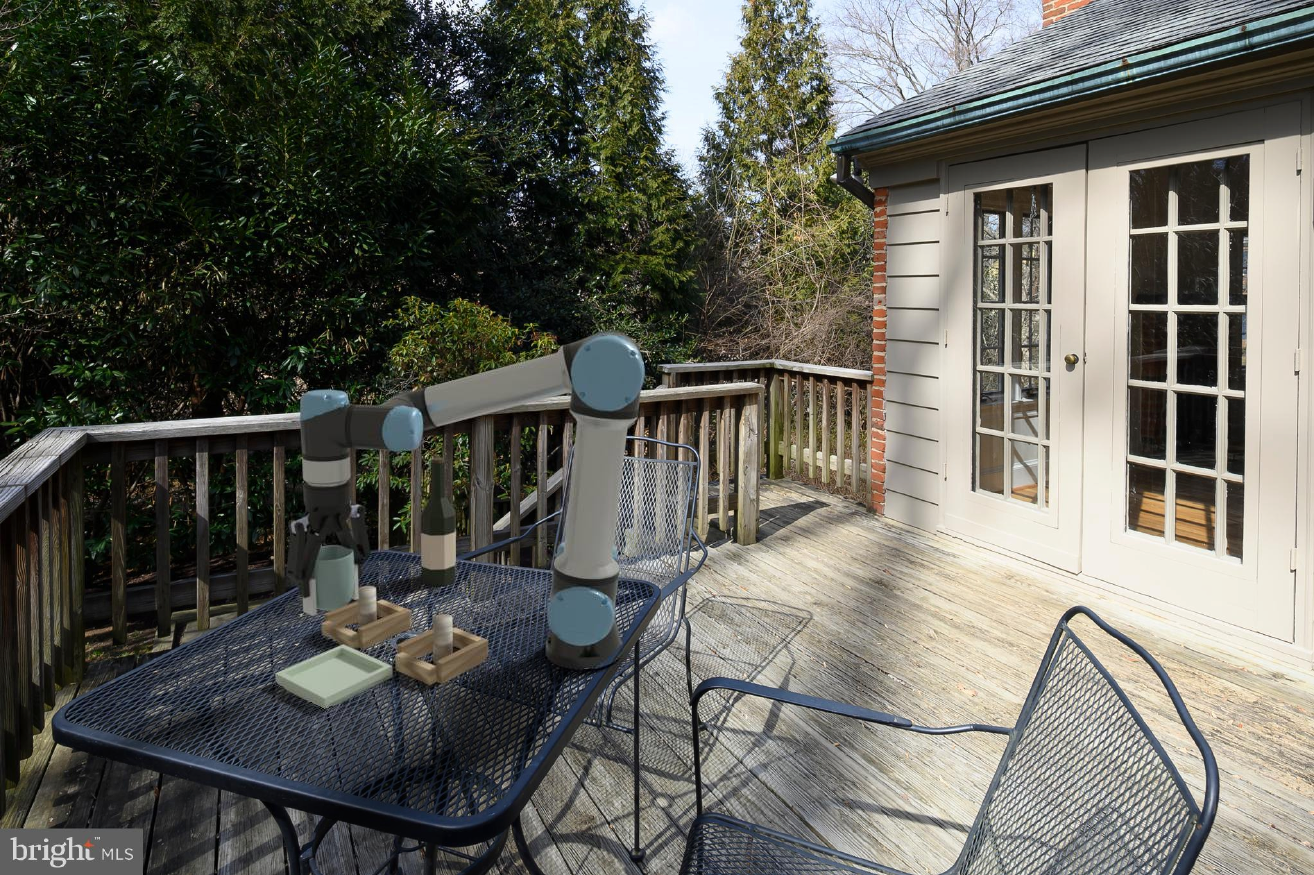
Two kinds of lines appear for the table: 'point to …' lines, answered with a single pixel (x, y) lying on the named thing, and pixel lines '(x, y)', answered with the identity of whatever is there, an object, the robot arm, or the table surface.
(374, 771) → the table surface
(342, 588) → the cup
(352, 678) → the tray
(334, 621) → the rack
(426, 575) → the wine bottle
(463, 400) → the robot arm
